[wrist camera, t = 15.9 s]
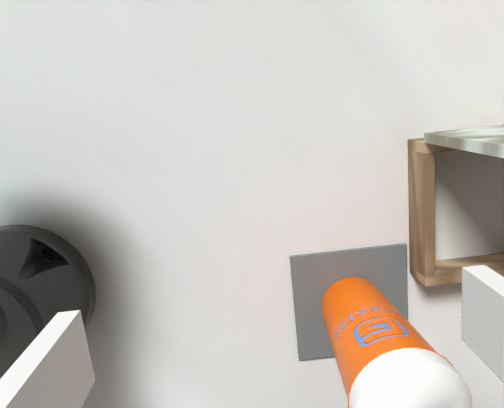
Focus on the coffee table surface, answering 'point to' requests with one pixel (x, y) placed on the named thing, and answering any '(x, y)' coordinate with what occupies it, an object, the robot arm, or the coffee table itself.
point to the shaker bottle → (385, 353)
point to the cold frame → (423, 201)
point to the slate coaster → (330, 271)
